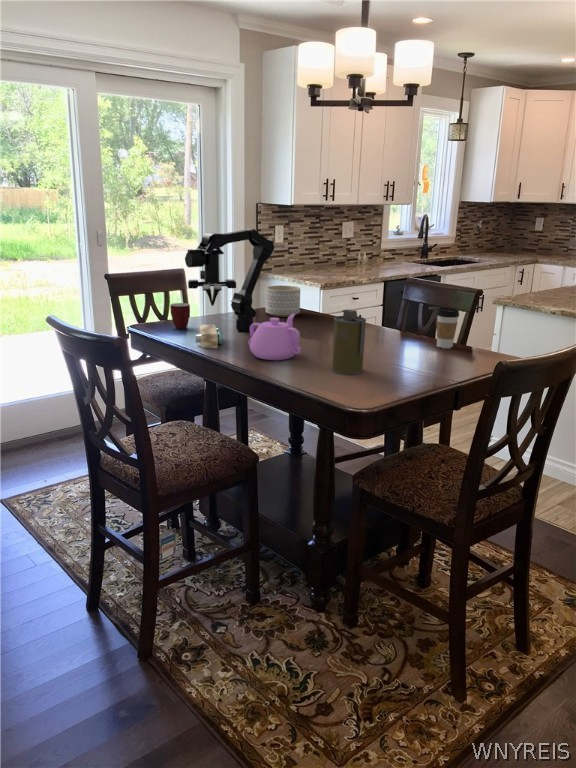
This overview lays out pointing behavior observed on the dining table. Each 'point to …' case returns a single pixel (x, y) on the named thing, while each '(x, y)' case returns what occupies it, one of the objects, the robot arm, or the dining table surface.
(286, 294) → the planter
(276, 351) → the teapot
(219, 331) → the knob
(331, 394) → the dining table surface
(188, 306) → the mug
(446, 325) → the coffee cup
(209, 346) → the mount
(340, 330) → the canister
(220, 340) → the knob
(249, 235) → the robot arm
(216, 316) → the dining table surface
